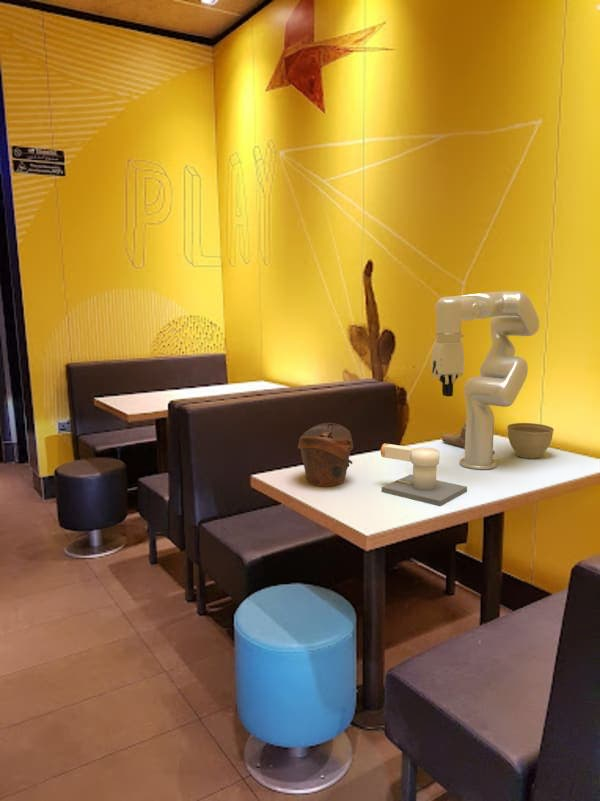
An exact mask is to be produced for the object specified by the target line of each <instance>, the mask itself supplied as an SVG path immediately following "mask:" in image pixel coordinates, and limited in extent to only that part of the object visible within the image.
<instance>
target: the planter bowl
mask: <svg viewBox="0 0 600 801" xmlns="http://www.w3.org/2000/svg"><path fill="white" fill-rule="evenodd" d="M506 427H507V438H508V441H509V444H510V446H511V447H512V449H513V451H514V454H515V455H516V456H517V457H520V458H524V459H541V458H542V457H543V456H544V453H545V452H546V451H547V450H548V448H549V447H550V445H551V442H552V440H553V434H554V431H555V429H554V428H553V427H551V426H550V425H546V424H541V423H540V424H539V423H534V422H533V423H532V422H531V423H530V422H516V423H511V424H508V425H507V426H506Z"/></svg>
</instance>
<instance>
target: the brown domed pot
mask: <svg viewBox="0 0 600 801" xmlns="http://www.w3.org/2000/svg"><path fill="white" fill-rule="evenodd" d="M297 449H300V453H301V458H302V463H303V468H304V472H305V480H306V482H307V483H309V484H310V485H313V486H316V487H332V486H333V487H335V486H338V485H341V484H343V483H344V482H345V479H346V476H347V470H348V468H349V467H350V465H353V461H352V460H350V455H351V451H352V450H353V449H354V444H353V438H352V434H351V432H350V430H349V429H348V428H346V427H345V426H343V425H342V424H338V423H336V422H335V423H334V422H325V423H324V422H323V423H319V424H317V425H315V426H313V427H311V428H309V429H308V430H306V431H305V432H304V433H303V434H302V435H301V436H300V437H299V439H298V444H297Z"/></svg>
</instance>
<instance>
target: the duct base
mask: <svg viewBox="0 0 600 801" xmlns="http://www.w3.org/2000/svg"><path fill="white" fill-rule="evenodd" d="M412 465H413V466H412V474H408V475H406V476H404V477H402V478H399V479H397V480H395V481H392V482H390V483H388V484H385V485H383V486H381V492H382V493H386V494H390V495H393V496H397V497H403V498H405V499H406V498H407V499H410V500H415V501H418V502H422V503H426V504H430V505H435V506H439V507H440V506H443V505H444V504H447V503H449V502H450V501H452V500H455V498H458V497H459V496H461V495H463V494H465V493H467V492H468V486H465V485H460V484H455V483H451V482H447V481H443V480H437V466H438V465H435V466H419V465H415V464H413V463H412Z"/></svg>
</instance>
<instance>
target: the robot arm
mask: <svg viewBox="0 0 600 801" xmlns="http://www.w3.org/2000/svg"><path fill="white" fill-rule="evenodd" d="M434 313H435V315H436V323H435V324H436V327H435V328H436V331H435V332H436V333H435V334H436V335H435V342H434V343H433V346H432V350H431V358H430V373H431V374H432V378H433V379H436V380H438V381H439V382H440V384H442V385H441V386H442V389H441V390H442V396H444V397H453V396H454V385H455V383H456V381H457V379H458V378H460V377H463V376H464V373H463V372H464V370H465V351H464V345H463V342H462V339H463V338H464V334H463V333H462V321H463V322H465V321H466V322H468V321H473V320H476V319H480V320H481V319H489V318H491V319H490V326H489V327H490V336H491V346H490V348H489V351H488V353H487V354H486V355H485V357H484V360H483V361H482V364H481V366H480V368H479V374H480V376H472V377H470V378H467V380H466V382H465V383H464V387H463V388H464V390H463V392H464V400H465V409H466V410H465V423H466V432H465V448H464V456H463V458H460V460H459V465H461V467H464V468H466V469H467V468H468V469H473V470H492V469H495V468H496V467H498V466H497V465H498V464H497V462H496V461H495V460H494V459H493V456H494V455H496V451H495V450H494V434H495V431H494V430H495V415H494V412H493V410H492V408H491V406H493V407H494V406H495V407H503V408H505V407H506V408H507V407H511V406H512V405H513V404H514V403H515V401H516V399H517V397H518V396H519V393H520V391H521V390H522V388H523V386H524V383H525V382H526V379H527V376H528V371H529V367H528V366H529V365H528V363H527V360H526V359H524V357H520V356H515V354H516V348H515V346H514V344H513V342H512V341H511V340H510V338H509V336H511V337H512V336H513V337H532V336H535V335H536V334H537V333H538V331H539V329H540V319H539V318H540V317H539V315H538V313H537V311H536V309H535V306H534V305H533V303H532V300H531V298H530V297H529V296H528V295H527V294H526V293H525V292H524V291H519V290H517V291H516V290H513V291H512V290H511V291H510V290H509V291H507V290H505V291H503V290H502V291H501V290H500V291H491V292H489V291H488V292H480V293H478V292H477V293H470V294H461V295H454V296H453V295H452V296H450V295H449V296H443V297H441V298H439V299H438V300H437V301H436V303H435V306H434Z"/></svg>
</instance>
